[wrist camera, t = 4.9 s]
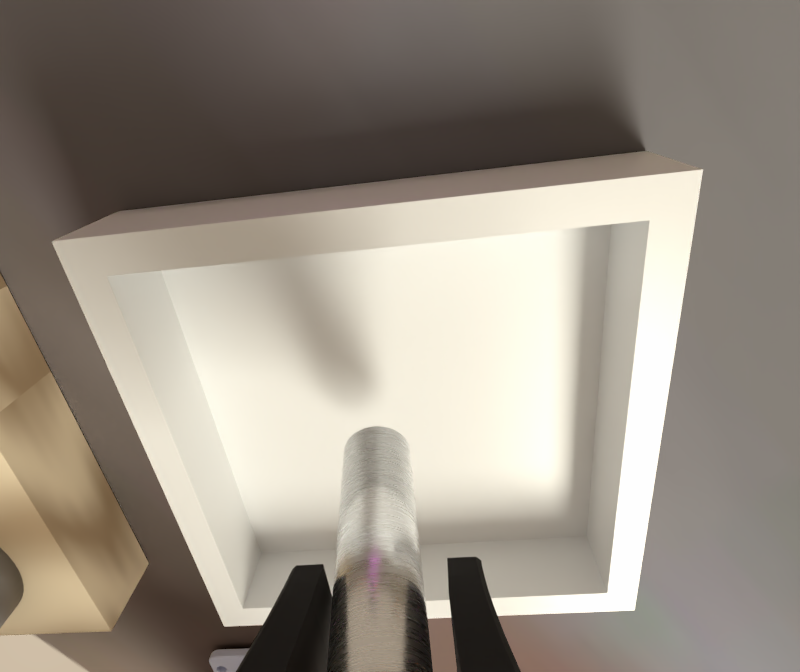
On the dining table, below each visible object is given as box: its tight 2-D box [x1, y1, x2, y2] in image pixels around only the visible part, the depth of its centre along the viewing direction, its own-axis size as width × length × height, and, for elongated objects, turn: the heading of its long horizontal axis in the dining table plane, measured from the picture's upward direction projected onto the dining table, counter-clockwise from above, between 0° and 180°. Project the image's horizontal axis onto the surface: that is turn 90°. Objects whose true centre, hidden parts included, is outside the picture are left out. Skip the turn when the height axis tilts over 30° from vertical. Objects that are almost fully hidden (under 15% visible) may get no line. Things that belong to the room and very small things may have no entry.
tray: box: [52, 151, 703, 627], centre depth 16 cm, size 15×15×3 cm
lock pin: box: [327, 426, 433, 672], centre depth 11 cm, size 3×3×8 cm
